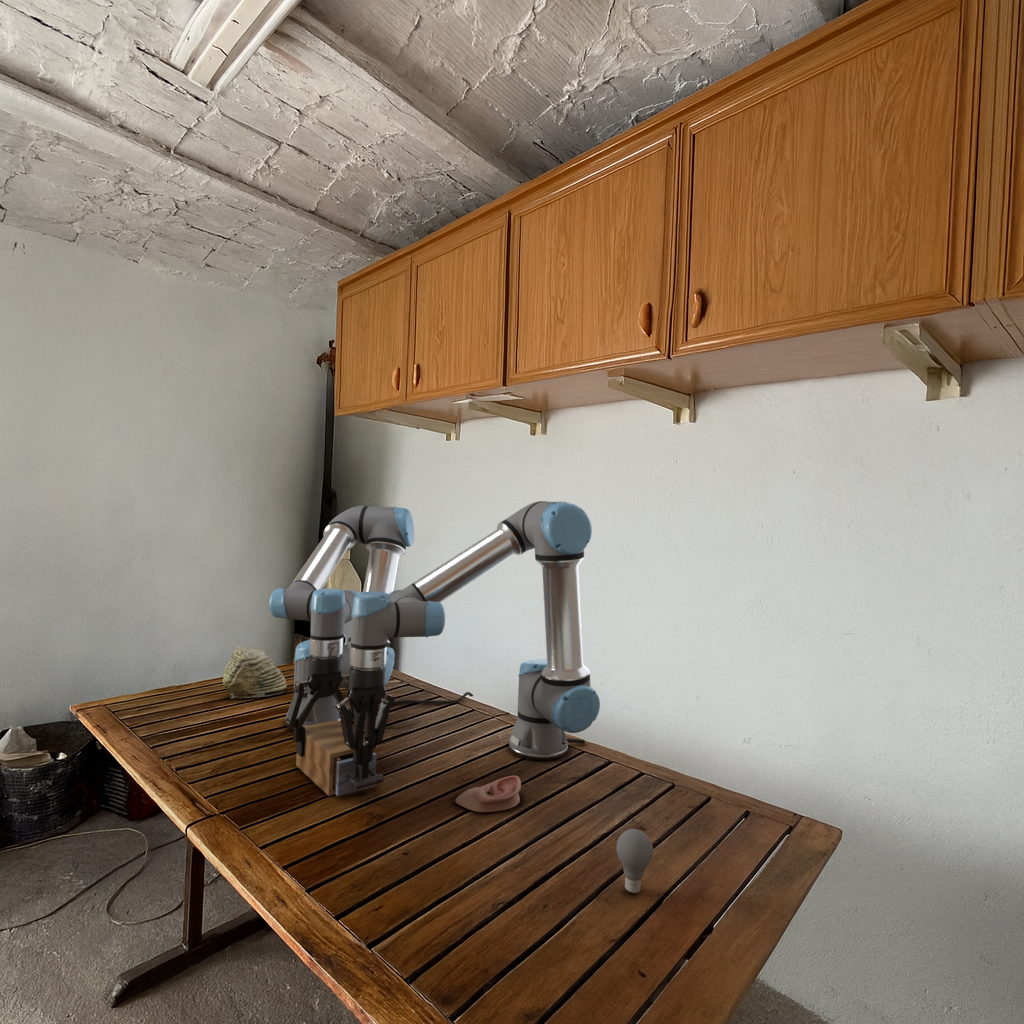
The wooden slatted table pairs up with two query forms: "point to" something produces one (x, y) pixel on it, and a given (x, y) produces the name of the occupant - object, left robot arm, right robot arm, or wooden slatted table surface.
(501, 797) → the anatomical model
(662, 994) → the wooden slatted table surface
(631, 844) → the light bulb
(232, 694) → the fossil
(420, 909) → the wooden slatted table surface
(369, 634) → the right robot arm
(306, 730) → the cabinet
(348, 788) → the drawer
